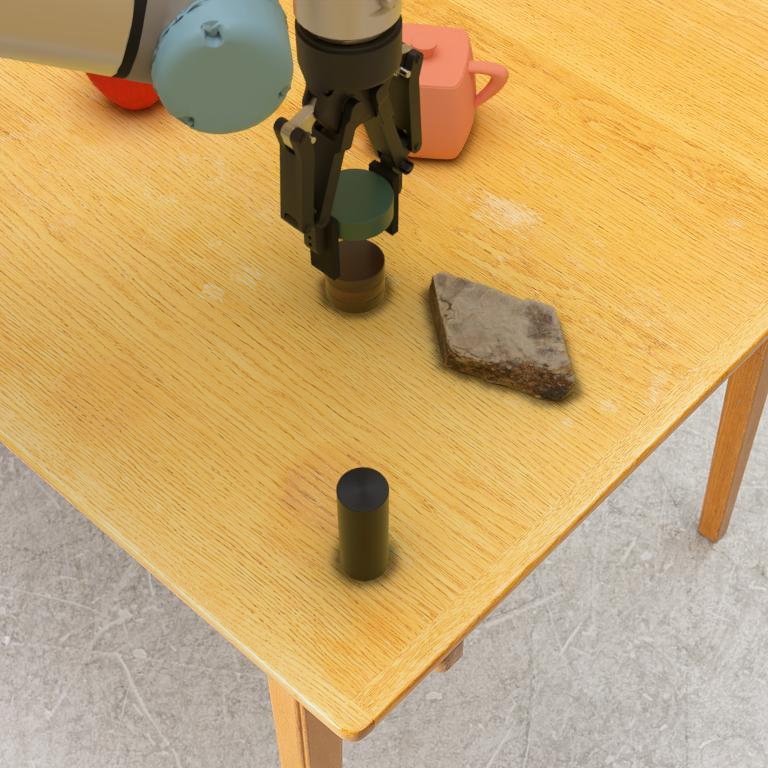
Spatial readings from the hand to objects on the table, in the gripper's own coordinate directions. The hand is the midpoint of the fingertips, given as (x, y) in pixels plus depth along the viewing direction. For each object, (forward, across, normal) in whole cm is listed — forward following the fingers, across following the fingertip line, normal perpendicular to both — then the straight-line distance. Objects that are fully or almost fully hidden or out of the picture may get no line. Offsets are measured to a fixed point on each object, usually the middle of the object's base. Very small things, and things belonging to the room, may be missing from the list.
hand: (355, 247), depth 99 cm
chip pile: (+6, 0, 0) cm, 6 cm away
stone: (+6, +4, -13) cm, 15 cm away
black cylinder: (+6, -19, -19) cm, 27 cm away
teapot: (+6, +20, +11) cm, 24 cm away
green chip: (-4, 0, 0) cm, 4 cm away
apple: (+6, +4, +34) cm, 35 cm away
